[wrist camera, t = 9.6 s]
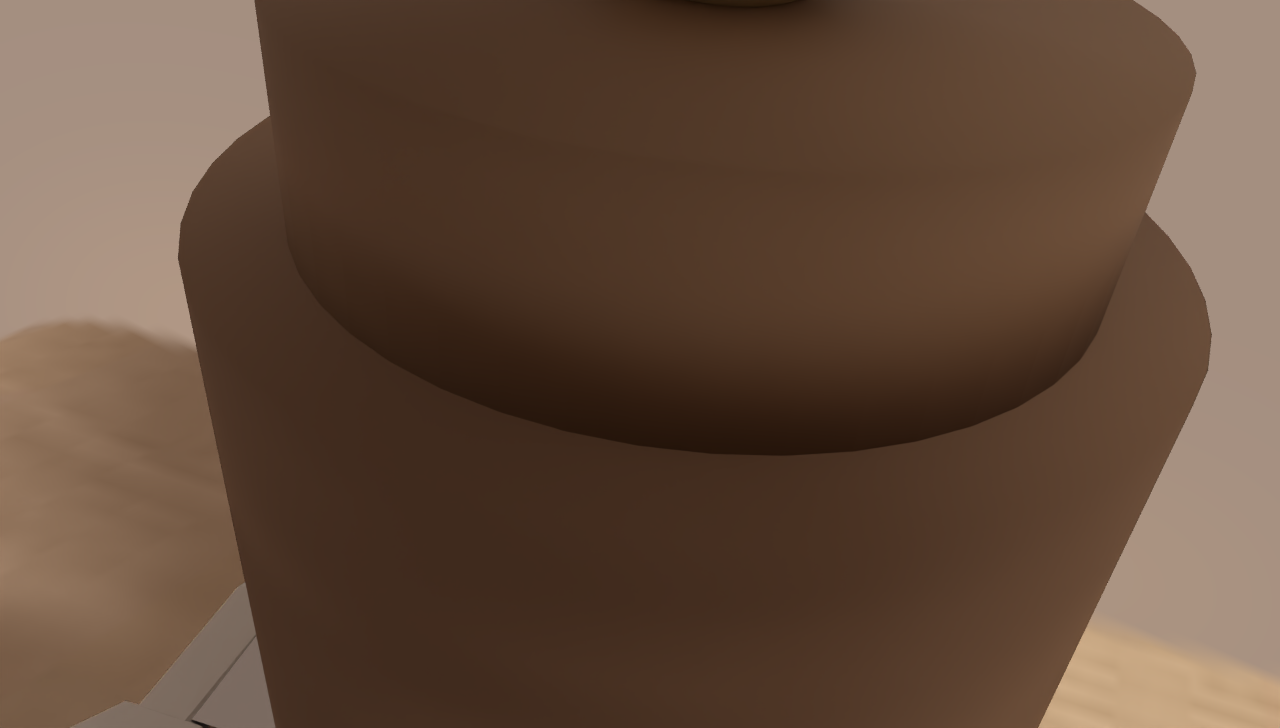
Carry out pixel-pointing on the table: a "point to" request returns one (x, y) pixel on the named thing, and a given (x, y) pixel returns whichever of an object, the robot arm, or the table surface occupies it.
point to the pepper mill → (691, 354)
